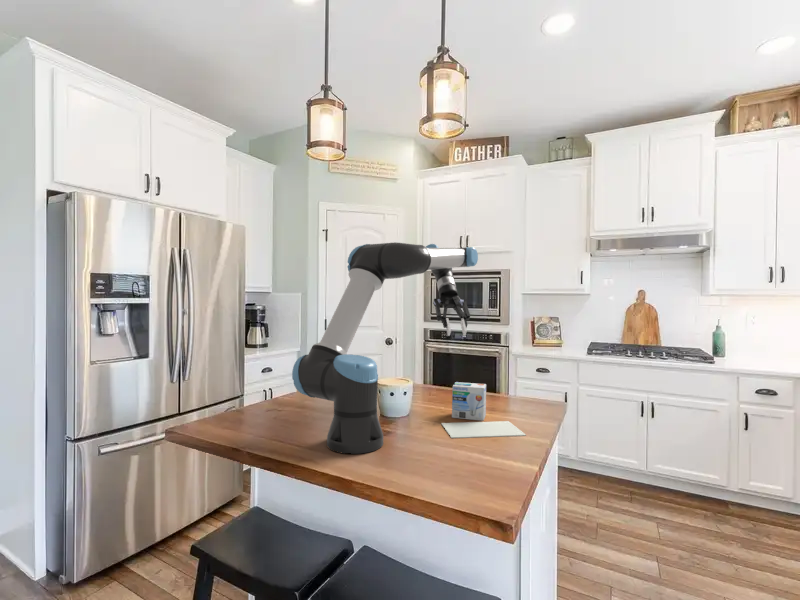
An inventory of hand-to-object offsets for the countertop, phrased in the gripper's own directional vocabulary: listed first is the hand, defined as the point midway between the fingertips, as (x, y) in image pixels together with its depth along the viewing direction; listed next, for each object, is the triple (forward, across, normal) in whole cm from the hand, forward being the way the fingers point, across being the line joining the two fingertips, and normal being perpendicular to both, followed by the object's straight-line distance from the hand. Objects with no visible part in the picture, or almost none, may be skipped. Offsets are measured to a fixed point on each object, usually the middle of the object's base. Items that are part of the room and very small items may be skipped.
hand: (457, 333), depth 154 cm
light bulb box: (+30, 0, -7) cm, 31 cm away
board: (+40, 0, +2) cm, 40 cm away
